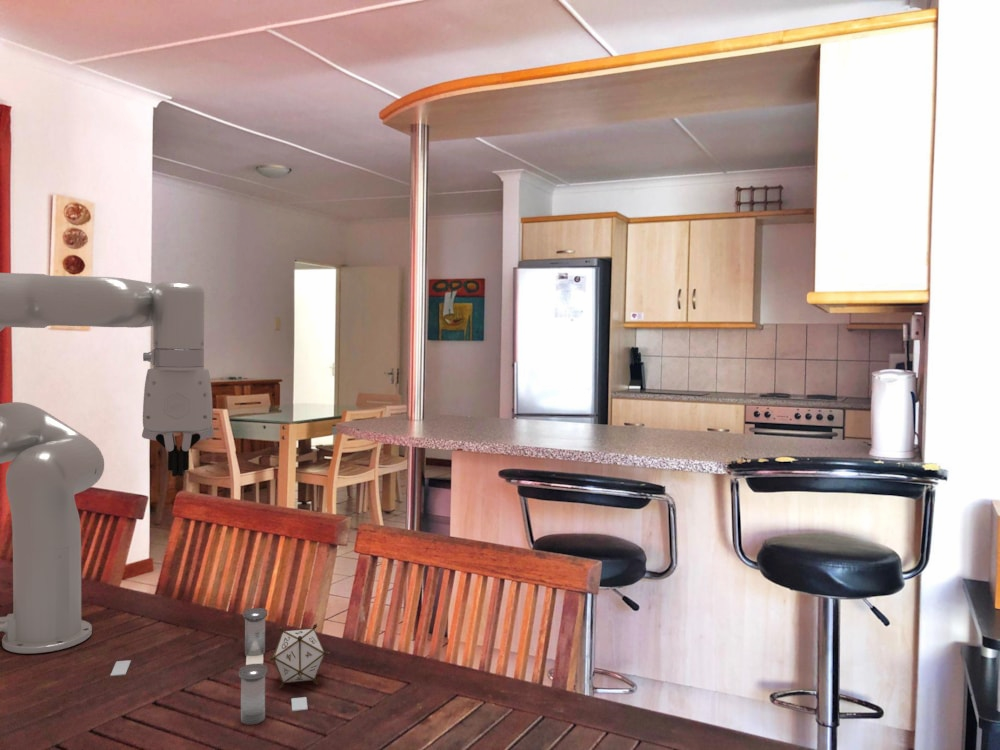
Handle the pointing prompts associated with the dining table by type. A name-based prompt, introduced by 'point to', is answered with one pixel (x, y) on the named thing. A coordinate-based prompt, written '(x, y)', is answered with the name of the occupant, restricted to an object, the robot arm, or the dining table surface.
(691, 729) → the dining table surface
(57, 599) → the robot arm
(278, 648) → the game die
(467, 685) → the dining table surface
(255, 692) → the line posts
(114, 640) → the dining table surface
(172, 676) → the dining table surface
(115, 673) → the distance lines
